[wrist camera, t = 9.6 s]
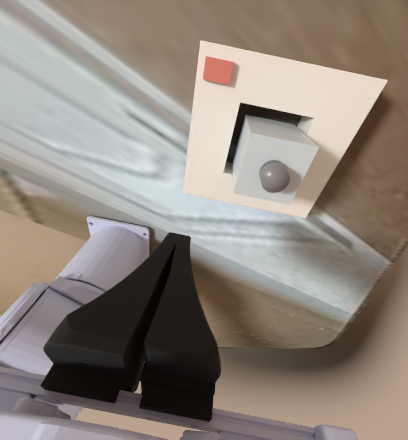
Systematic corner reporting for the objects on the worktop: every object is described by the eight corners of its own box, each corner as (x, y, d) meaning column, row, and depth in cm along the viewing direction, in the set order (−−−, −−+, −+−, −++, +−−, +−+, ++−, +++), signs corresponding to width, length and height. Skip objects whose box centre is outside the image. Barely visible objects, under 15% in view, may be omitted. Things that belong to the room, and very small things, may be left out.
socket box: (298, 202, 22) (306, 220, 19) (187, 180, 21) (181, 195, 19) (364, 78, 15) (391, 80, 12) (205, 44, 15) (199, 39, 12)
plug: (273, 166, 20) (294, 214, 13) (232, 157, 19) (233, 202, 13) (290, 121, 17) (327, 154, 11) (244, 112, 17) (252, 138, 11)
